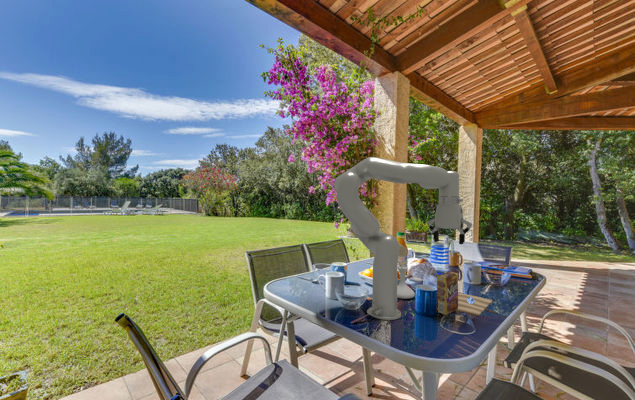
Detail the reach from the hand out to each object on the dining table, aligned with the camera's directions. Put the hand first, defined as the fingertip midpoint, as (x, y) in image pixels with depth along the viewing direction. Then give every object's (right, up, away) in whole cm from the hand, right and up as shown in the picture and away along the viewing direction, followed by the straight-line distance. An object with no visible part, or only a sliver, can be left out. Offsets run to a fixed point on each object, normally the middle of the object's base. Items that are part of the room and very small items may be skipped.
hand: (448, 242), depth 113 cm
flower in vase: (-14, -29, +18) cm, 37 cm away
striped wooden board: (+13, -29, +9) cm, 33 cm away
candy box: (-1, -28, -1) cm, 28 cm away
